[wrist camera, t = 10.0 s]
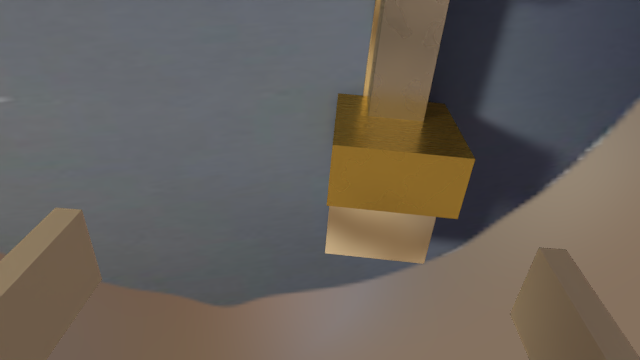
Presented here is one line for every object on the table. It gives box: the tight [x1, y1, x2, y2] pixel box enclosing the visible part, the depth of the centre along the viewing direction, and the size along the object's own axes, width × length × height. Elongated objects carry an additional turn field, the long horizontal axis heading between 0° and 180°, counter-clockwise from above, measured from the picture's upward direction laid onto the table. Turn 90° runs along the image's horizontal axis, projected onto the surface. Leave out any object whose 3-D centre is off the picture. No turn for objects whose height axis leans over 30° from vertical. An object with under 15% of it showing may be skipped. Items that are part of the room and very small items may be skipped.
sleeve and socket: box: [325, 0, 436, 264], centre depth 23 cm, size 28×7×6 cm, turn 176°
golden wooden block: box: [327, 0, 475, 219], centre depth 23 cm, size 20×7×8 cm, turn 176°
